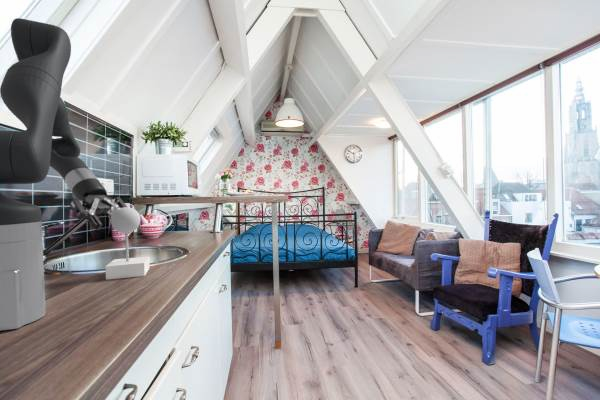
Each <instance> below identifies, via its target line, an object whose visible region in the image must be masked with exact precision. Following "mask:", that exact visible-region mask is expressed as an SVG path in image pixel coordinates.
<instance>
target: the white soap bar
mask: <svg viewBox="0 0 600 400" xmlns="http://www.w3.org/2000/svg"><path fill="white" fill-rule="evenodd" d="M149 270H150V257H149V256H140V257H139V256H138V257H129V261H127V262H126V258H118V259H117V258H115V259H113V260H112V261H111V262H109V263H108V264H106V265H105V280H106V281H107V280H118V279H126V278H137V277H145V276H146V275H147V273H148V271H149Z"/></svg>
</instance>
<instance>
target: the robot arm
mask: <svg viewBox="0 0 600 400" xmlns="http://www.w3.org/2000/svg"><path fill="white" fill-rule="evenodd" d="M10 36H11V37H10V38H11V42H12V45H13V49H14V53H15V55H16V57H17V58H16V59H17V61H16V62H14V64H12V65H11V66H10V67H9V68H8V69H7V70H6V72H5V74H4V77H3V80H2V82H1V84H0V97H1V100H2V101H3V103H4V105H5V107H6V108H7V110H9V111H10V112H11V113H12V115H14V116H15V117H16V118H17V119H18V121H20V122H21V123H22V124H23V125H24V126H25V128H26V130H22V131H21V130H20V131H17V130H3V129H0V185H30V184H31V185H32V184H39V183H41V182H43V181H44V180H45V179H46V178H47V177H48V174H49V170H50V168H52V169H53V170H54V171H56V172H57V173H58V174H59V175H60V176H61V178H62V179H63V180H64V182H65V183H66V185H67V189H69V190H70V192H71V193H72V195H73V196H74V198H73V199H72V201H71V202H70V204H69V207H70V209H71V210H72V212H73V213H74V216H75V217H76V219H77V220H79V221H82V220H85V221H87V222H88V224H90V226H91V227H92V228H93V229H95V230H96V231H100V230H101V228H102V227H103V224H102V222H101V220H100V219H99V218H98V216H97V215H95V214H98V215H99V214H108V215H110V216H112V215H113V213H114V212H115V211H116V210H118V209H120V208H124V207H128V206H127V205H126V203H125V202H124V201H123V200H122V198H120V197H119V196H117V197H116V198H114V199H113V198H111V197H109V196H108V192H107V190H106V188H105V187H104V185H103V183H101V182H100V180H99V179H98V178H97V176H96V175H95V174H94V173H93V171H91V170H90V168H89V167H88V166H87V164H86V163H85V162H84V161H83V159H81V158H79V156H80V154H81V148H80V145H79V144H78V141H77V140H76V139H75V136H74V134H73V131H72V128H71V126H70V119H69V112H68V108H67V105H66V104H65V102H64V100H63V99H62V97H61V93H62V85H63V79H64V75H65V71H66V69H67V67H68V65H69V62H70V59H71V55H72V43H71V39H70V37H69V34H68V33H67V32H66V31H65V29H64V28H62V27H60V26H57V25H54V24H51V23H46V22H41V21H40V22H39V21H36V20H30V19H25V18H20V17H17V18H14V19H13V20H12V21H11V24H10ZM53 137H56V138H53ZM112 207H113V209H112ZM85 209H86V210H87V212H86V210H85ZM111 209H112V210H111ZM42 219H43V217H42V209H41V207H39V206H38V205H36V204H33V203H28V202H23V201H19V200H17V199H14V198H11V197H9V196H7V195H5V194H3V193H2V192H1V191H0V331H7V330H15V329H20V328H21V327H23V326H26V325H27V324H31V323H33V322H35V321H38V320H39V319H42V318H43V317H45V316H46V314H47V313H46V292H45V268H44V267H45V265H44V248H43V247H44V245H43V243H44V242H43V221H42Z"/></svg>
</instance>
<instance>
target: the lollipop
mask: <svg viewBox="0 0 600 400" xmlns="http://www.w3.org/2000/svg"><path fill="white" fill-rule="evenodd" d="M110 224H111V226H112V229H114V230H115V231H116V232H118V233H121V234H124V235H125V236H124V239H125V259H126V262H127V261H129V258H130V257H129V256H130V255H129V254H130V253H129V233H131V232H132V233H133V232H134V231H135V230H137V229H138V228H139V226H140V224H141V215H140V213H139V212H138V211H137V210H136V209H134V208H132V207H128V206H127V207H124V208H120V209H118V210H116V211H115V212H114V213H113V215H111V217H110Z"/></svg>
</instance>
